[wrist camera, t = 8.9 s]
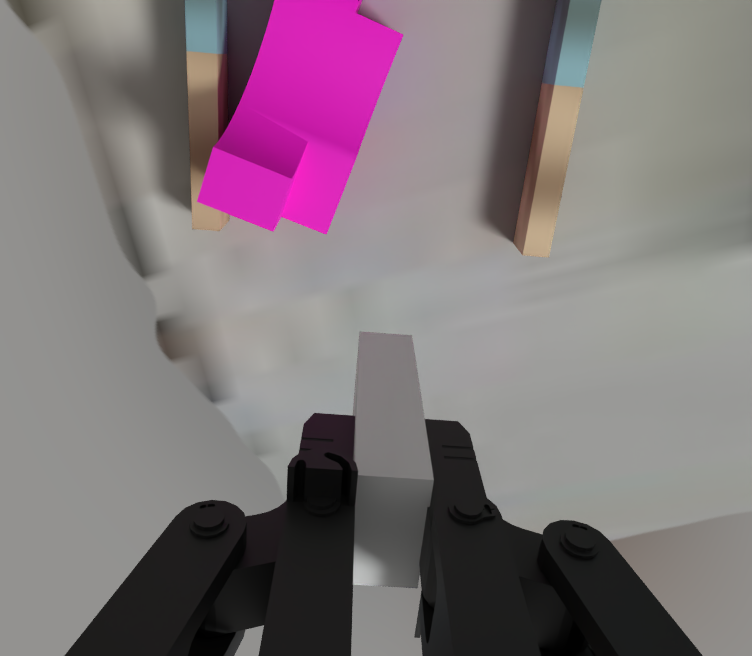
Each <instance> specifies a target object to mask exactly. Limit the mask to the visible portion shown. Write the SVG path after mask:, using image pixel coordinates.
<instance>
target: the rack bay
mask: <svg viewBox="0 0 752 656" xmlns="http://www.w3.org/2000/svg"><path fill="white" fill-rule="evenodd" d="M600 5H601V0H557V1H556V7H555V13H554V18H553V24H552V29H551V35H550V41H549V46H548V52H547V57H546V63H545V68H544V74H543V80H542V85H541V91H540V96H539V102H538V108H537V113H536V119H535V124H534V130H533V135H532V141H531V147H530V152H529V158H528V163H527V169H526V175H525V180H524V186H523V191H522V197H521V203H520V208H519V214H518V219H517V225H516V230H515V236H514V242H513V243H514V245H515V246H516V247H517V249H518V250H519V251H520V252H521V254H522V255H526V256H538V257H549V254H550V249H551V244H552V239H553V234H554V229H555V225H556V220H557V215H558V210H559V205H560V200H561V195H562V190H563V185H564V181H565V176H566V171H567V166H568V161H569V156H570V151H571V146H572V141H573V137H574V132H575V127H576V122H577V117H578V112H579V107H580V102H581V97H582V93H583V88H584V83H585V78H586V73H587V68H588V63H589V58H590V53H591V49H592V44H593V39H594V34H595V29H596V24H597V19H598V14H599V10H600ZM185 23H186V52H187V82H188V111H189V141H190V171H191V200H192V229H200V230H213V231H220V230H221V229H222V228H223V227H224V226H225V224H226V223H227V222H228V221H229V214H227V213H224V212H222V211H219V210H216V209H214V208H211V207H209V206H206V205H204V204H201V203H199V202H197V199H198V196H199V193H200V189H201V186H202V182H203V179H204V176H205V172H206V169H207V166H208V162H209V159H210V156H211V152H212V149H213V147H214V145H215V144H216V143H217V142H218V141H219V139H220V138H221V137H222V135H223V134H224V132H225V130H226V129H227V127H228V47H227V0H185Z"/></svg>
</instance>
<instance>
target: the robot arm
mask: <svg viewBox="0 0 752 656" xmlns="http://www.w3.org/2000/svg"><path fill="white" fill-rule="evenodd" d="M419 575H420V577H421V587H422V591H421V599H420V604H419V611H418V618H417V624H416V631H415V637H417V638H420V635H421V642H422V654H423V656H702V654H701V653H700V652H699V651H698V649H696V647H695V646H694V644H693V643H692V642H691V641H690V639H689V638H688V637H687V636H686V635H685V633H684V632H683V631H682V630H681V628H680V627H679V626H678V625H677V623H676V622H675V621H674V620H673V619H672V617H671V616H670V615H669V614H668V612H667V611H666V610H665V609H664V607H663V606H662V605H661V604H660V602H659V601H658V600H657V599H656V597H655V596H654V595H653V594H652V592H651V591H650V590H649V589H648V588H647V586H646V585H645V584H644V583H643V581H642V580H641V579H640V578H639V576H638V575H637V574H636V573H635V572H634V570H633V569H632V568H631V567H630V565H629V564H628V563H627V562H626V560H625V559H624V558H623V557H622V555H621V554H620V553H619V552H618V551H617V549H616V548H615V547H614V546H613V544H612V543H611V542H610V541H609V540H608V539H607V538H606V537H605V536H604V535H603V534H602V533H601V532H600V531H598V530H596V529H594V528H592V527H591V526H589V525H587V524H583V523H580V522H576V521H569V520H560V521H556V522H553V523H550V524H549V525H548V526H547V527H546V528H545V529H544V531H543V535H542V534H539V533H535V532H532V531H528V530H525V529H522V528H519V527H516V526H514V525H512V524H510V523H508V522H506V521H504V520H503V519H502V516H501V514H500V512H499V510H498V508H497V506H496V505H495V504H493V503H492V502H491V501H490V500H489V499H487V497H486V494H485V490H484V486H483V482H482V479H481V475H480V471H479V467H478V463H477V461H476V456H475V452H474V450H473V445H472V441H471V437H470V434H469V433H468V431H467V430H466V429H465V428H464V427H463V426H462V425H461V424H460V423H459V422H458V421H444V420H430V419H425V418H424V412H423V405H422V398H421V392H420V385H419V378H418V372H417V365H416V359H415V352H414V345H413V339H412V335H399V334H386V333H373V332H359V344H358V356H357V369H356V381H355V393H354V405H353V416H350V415H336V414H321V413H314V414H313V415H312V416H311V417H310V418H309V419H308V420H307V421H306V422H305V423H304V427H303V432H302V438H301V443H300V450H299V454H298V455H297V456H295V457H294V458H292V460H291V462H290V463H289V465H288V478H287V500H286V501H285V502H284V503H283V504H282V505H280V506H279V507H278V508H275V509H273V510H271V511H269V512H266V513H262V514H257V515H252V516H246V517H245V515H244V512H243V511H242V510H240V509H239V508H238V507H237V506H236V505H234V504H231V503H229V502H226V501H217V500H209V501H204V502H198V503H195V504H193V505H191V506H188V507H186V508H185V509H184V510H182V511H181V512H180V513H179V514H178V515H177V516H176V517H175V518H174V519H173V520H172V522H171V523H170V524H169V525H168V527H167V528H166V529H165V530H164V532H163V533H162V534H161V536H160V537H159V538H158V539H157V540H156V542H155V543H154V544H153V545H152V547H151V548H150V549H149V550H148V552H147V553H146V554H145V556H144V557H143V558H142V559H141V561H140V562H139V563H138V564H137V566H136V567H135V568H134V569H133V571H132V572H131V573H130V575H129V576H128V577H127V578H126V579H125V581H124V582H123V583H122V584H121V586H120V587H119V588H118V589H117V591H116V592H115V593H114V594H113V596H112V597H111V598H110V599H109V601H108V602H107V603H106V604H105V606H104V607H103V608H102V609H101V611H100V612H99V613H98V615H97V616H96V617H95V618H94V619H93V621H92V622H91V623H90V624H89V626H88V627H87V628H86V630H85V631H84V632H83V633H82V634H81V636H80V637H79V638H78V639H77V641H76V642H75V643H74V645H73V646H72V647H71V648H70V649H69V651H68V652H67V653H66V655H65V656H234V655H235V653H236V651H237V649H238V647H239V645H240V643H241V641H242V639H243V637H244V633H245V629H249V628H254V627H258V626H262V625H264V629H263V635H262V641H261V646H260V651H259V656H351V634H352V633H351V632H352V598H353V585H372V586H388V587H406V588H418V581H419Z"/></svg>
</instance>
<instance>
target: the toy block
mask: <svg viewBox="0 0 752 656" xmlns="http://www.w3.org/2000/svg"><path fill="white" fill-rule="evenodd" d="M361 2H362V0H274V4H273V8H272V11H271V15H270V18H269V22H268V25H267V29H266V32H265V35H264V38H263V41H262V44H261V48H260V51H259V54H258V56H257V59H256V62H255V65H254V68H253V70H252V73H251V76H250V78H249V81H248V84H247V86H246V89H245V91H244V93H243V96H242V98H241V100H240V103H239V105H238V107H237V109H236V111H235V113H234V115H233V117H232V119H231V121H230V123H229V125H228V127H227V129H226V130H225V132H224V134H223V135H222V137H221V138H220V139H219V141H218V142H217V143H216V144H215V145H214V147H213V149H212V152H211V156H210V159H209V162H208V166H207V169H206V172H205V176H204V179H203V182H202V186H201V189H200V193H199V196H198V199H197V202H199V203H201V204H204V205H206V206H209V207H211V208H214V209H216V210H219V211H222V212H224V213H227V214H229V215H232V216H234V217H237V218H240V219H242V220H245V221H247V222H250V223H252V224H255V225H257V226H260V227H263V228H265V229H268V230H270V231H274V229H275V228H276V226H277V224H278V222H279V220H280V218H281V217H283V218H286V219H288V220H291V221H293V222H296V223H298V224H301V225H303V226H306V227H308V228H311V229H313V230H316V231H319V232H321V233H324V234H327V232H328V229H329V227H330V224H331V221H332V219H333V216H334V214H335V211H336V209H337V206H338V203H339V201H340V198H341V196H342V193H343V191H344V188H345V186H346V183H347V180H348V178H349V175H350V173H351V170H352V168H353V165H354V162H355V160H356V157H357V154H358V151H359V149H360V146H361V143H362V140H363V138H364V135H365V132H366V129H367V127H368V124H369V121H370V119H371V116H372V113H373V111H374V108H375V106H376V103H377V100H378V98H379V95H380V93H381V90H382V87H383V85H384V82H385V80H386V77H387V75H388V72H389V70H390V67H391V65H392V62H393V60H394V57H395V55H396V52H397V50H398V47H399V45H400V42H401V40H402V37H403V34H401V33H398V32H396V31H394V30H392V29H390V28H388V27H385V26H383V25H381V24H379V23H377V22H375V21H372V20H370V19H368V18H366V17H364V16H362V15H359V14H358V11H359V8H360V5H361Z"/></svg>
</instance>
